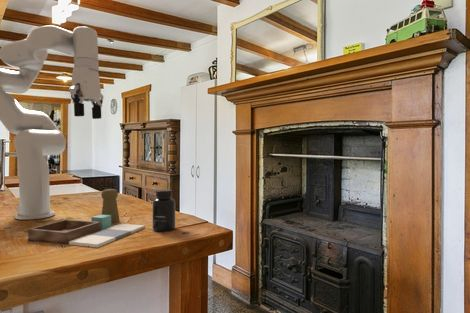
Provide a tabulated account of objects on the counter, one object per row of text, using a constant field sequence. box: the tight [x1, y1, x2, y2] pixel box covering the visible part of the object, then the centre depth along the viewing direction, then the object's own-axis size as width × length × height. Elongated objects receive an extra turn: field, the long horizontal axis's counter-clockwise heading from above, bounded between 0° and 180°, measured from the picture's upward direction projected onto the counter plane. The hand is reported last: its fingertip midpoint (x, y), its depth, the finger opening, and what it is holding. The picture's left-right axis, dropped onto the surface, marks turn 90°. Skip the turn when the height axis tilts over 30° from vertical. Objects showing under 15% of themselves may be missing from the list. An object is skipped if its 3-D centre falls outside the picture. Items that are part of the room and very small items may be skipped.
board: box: [68, 223, 146, 249], centre depth 97 cm, size 9×21×1 cm, turn 161°
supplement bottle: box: [152, 188, 176, 233], centre depth 104 cm, size 7×7×12 cm
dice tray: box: [27, 218, 100, 245], centre depth 97 cm, size 13×13×3 cm
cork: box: [101, 188, 120, 224], centre depth 115 cm, size 6×6×11 cm
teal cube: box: [91, 214, 112, 230], centre depth 105 cm, size 4×4×4 cm
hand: (88, 117), depth 114 cm, fingers open, 9 cm apart
